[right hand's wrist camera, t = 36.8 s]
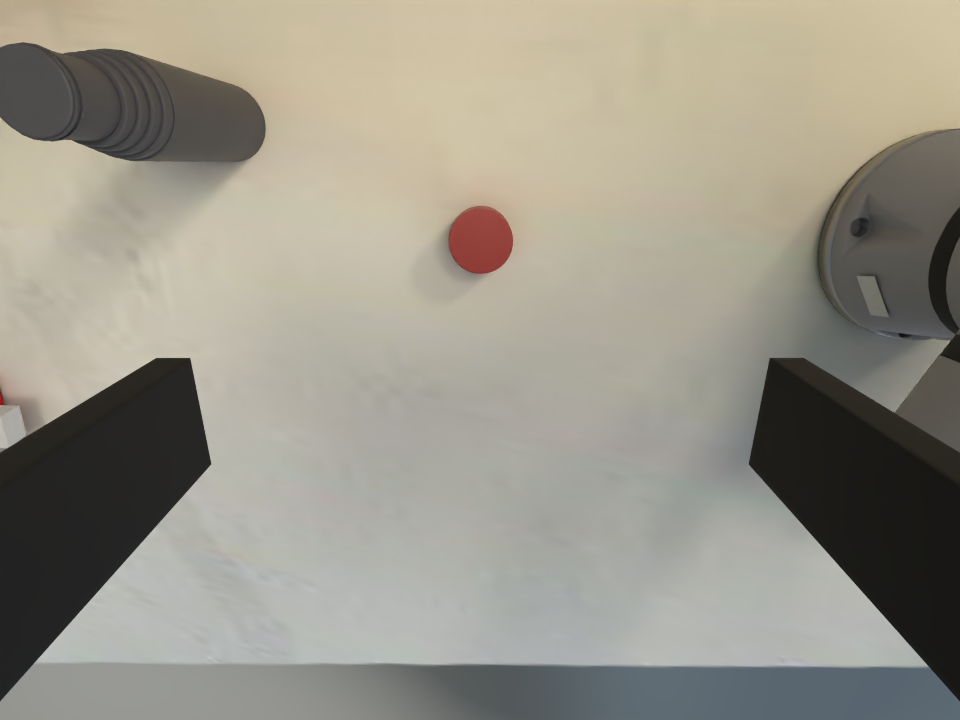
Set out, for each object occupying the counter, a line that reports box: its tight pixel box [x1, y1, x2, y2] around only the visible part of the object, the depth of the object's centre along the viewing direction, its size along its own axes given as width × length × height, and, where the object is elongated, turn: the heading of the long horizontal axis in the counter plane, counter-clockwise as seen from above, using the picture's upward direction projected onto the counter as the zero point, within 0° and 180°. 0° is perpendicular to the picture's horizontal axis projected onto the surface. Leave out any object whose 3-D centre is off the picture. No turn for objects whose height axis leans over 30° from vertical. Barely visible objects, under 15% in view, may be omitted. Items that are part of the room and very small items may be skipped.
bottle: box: [0, 42, 265, 161], centre depth 30 cm, size 5×5×18 cm
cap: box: [449, 206, 513, 274], centre depth 40 cm, size 5×5×2 cm
